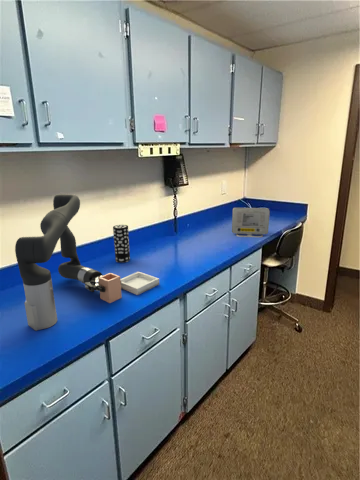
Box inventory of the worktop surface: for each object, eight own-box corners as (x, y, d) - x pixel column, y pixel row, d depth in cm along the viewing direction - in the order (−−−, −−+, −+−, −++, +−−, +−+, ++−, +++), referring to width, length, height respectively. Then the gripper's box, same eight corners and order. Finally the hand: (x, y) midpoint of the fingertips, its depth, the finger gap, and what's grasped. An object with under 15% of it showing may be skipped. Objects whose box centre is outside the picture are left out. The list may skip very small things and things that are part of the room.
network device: (266, 234, 226) (268, 207, 220) (268, 237, 217) (270, 209, 212) (231, 233, 229) (232, 207, 223) (231, 236, 221) (232, 209, 215)
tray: (137, 295, 135) (137, 288, 134) (116, 286, 143) (116, 280, 142) (159, 284, 145) (159, 278, 144) (138, 277, 154) (138, 271, 153)
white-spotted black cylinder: (112, 260, 177) (110, 226, 171) (124, 256, 183) (122, 224, 177) (120, 263, 171) (118, 229, 165) (133, 260, 177) (131, 226, 171)
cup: (109, 303, 128) (108, 281, 125) (100, 298, 132) (98, 277, 129) (121, 297, 133) (120, 276, 130) (112, 293, 137) (110, 272, 134)
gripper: (75, 274, 133) (98, 284, 123) (102, 264, 144) (125, 273, 134) (77, 290, 135) (99, 300, 125) (103, 279, 146) (126, 288, 136)
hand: (112, 286), depth 129 cm, fingers open, 8 cm apart
